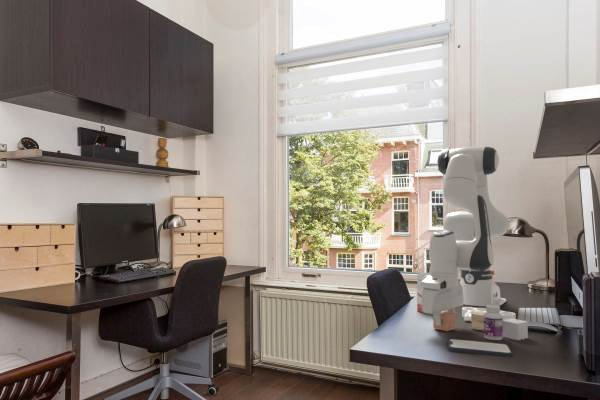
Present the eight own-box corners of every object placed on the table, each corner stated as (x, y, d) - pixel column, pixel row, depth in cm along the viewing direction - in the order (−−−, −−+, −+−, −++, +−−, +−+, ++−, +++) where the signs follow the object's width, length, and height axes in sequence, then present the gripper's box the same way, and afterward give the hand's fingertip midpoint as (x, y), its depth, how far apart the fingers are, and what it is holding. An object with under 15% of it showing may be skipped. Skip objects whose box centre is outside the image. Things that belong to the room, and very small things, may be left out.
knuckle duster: (455, 321, 154) (466, 314, 166) (510, 329, 144) (518, 320, 156) (454, 311, 155) (466, 305, 166) (510, 319, 144) (518, 311, 156)
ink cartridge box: (424, 313, 165) (423, 274, 166) (416, 311, 170) (416, 273, 170) (443, 312, 168) (442, 273, 168) (435, 309, 173) (435, 272, 173)
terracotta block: (441, 325, 145) (441, 310, 145) (455, 328, 142) (455, 312, 142) (433, 328, 142) (433, 312, 142) (447, 331, 138) (447, 315, 138)
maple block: (474, 325, 147) (474, 310, 147) (490, 327, 144) (490, 312, 144) (471, 329, 143) (471, 313, 143) (487, 331, 140) (487, 315, 140)
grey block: (512, 334, 136) (511, 318, 136) (527, 338, 132) (527, 321, 132) (502, 336, 133) (502, 320, 134) (518, 340, 129) (517, 323, 129)
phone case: (507, 349, 123) (447, 343, 127) (507, 344, 123) (447, 338, 127) (513, 359, 114) (448, 353, 119) (513, 353, 114) (448, 347, 119)
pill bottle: (479, 336, 133) (479, 305, 134) (493, 335, 135) (492, 303, 135) (493, 341, 128) (492, 308, 129) (507, 339, 130) (506, 307, 130)
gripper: (450, 276, 151) (451, 316, 151) (417, 282, 138) (418, 326, 137) (468, 278, 147) (469, 319, 146) (435, 285, 133) (436, 330, 133)
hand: (444, 323), depth 142 cm, fingers closed on terracotta block, 5 cm apart
